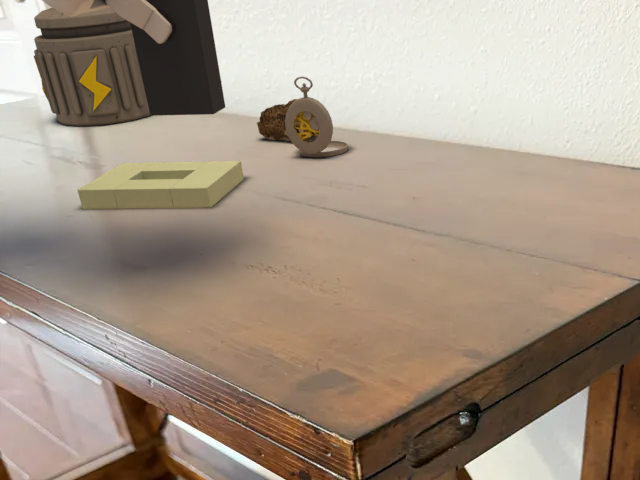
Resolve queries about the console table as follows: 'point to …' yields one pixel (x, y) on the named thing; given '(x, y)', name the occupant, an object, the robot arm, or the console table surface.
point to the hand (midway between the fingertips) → (180, 32)
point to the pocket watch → (311, 126)
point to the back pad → (181, 62)
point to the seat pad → (162, 185)
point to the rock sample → (275, 122)
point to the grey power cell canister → (89, 68)
